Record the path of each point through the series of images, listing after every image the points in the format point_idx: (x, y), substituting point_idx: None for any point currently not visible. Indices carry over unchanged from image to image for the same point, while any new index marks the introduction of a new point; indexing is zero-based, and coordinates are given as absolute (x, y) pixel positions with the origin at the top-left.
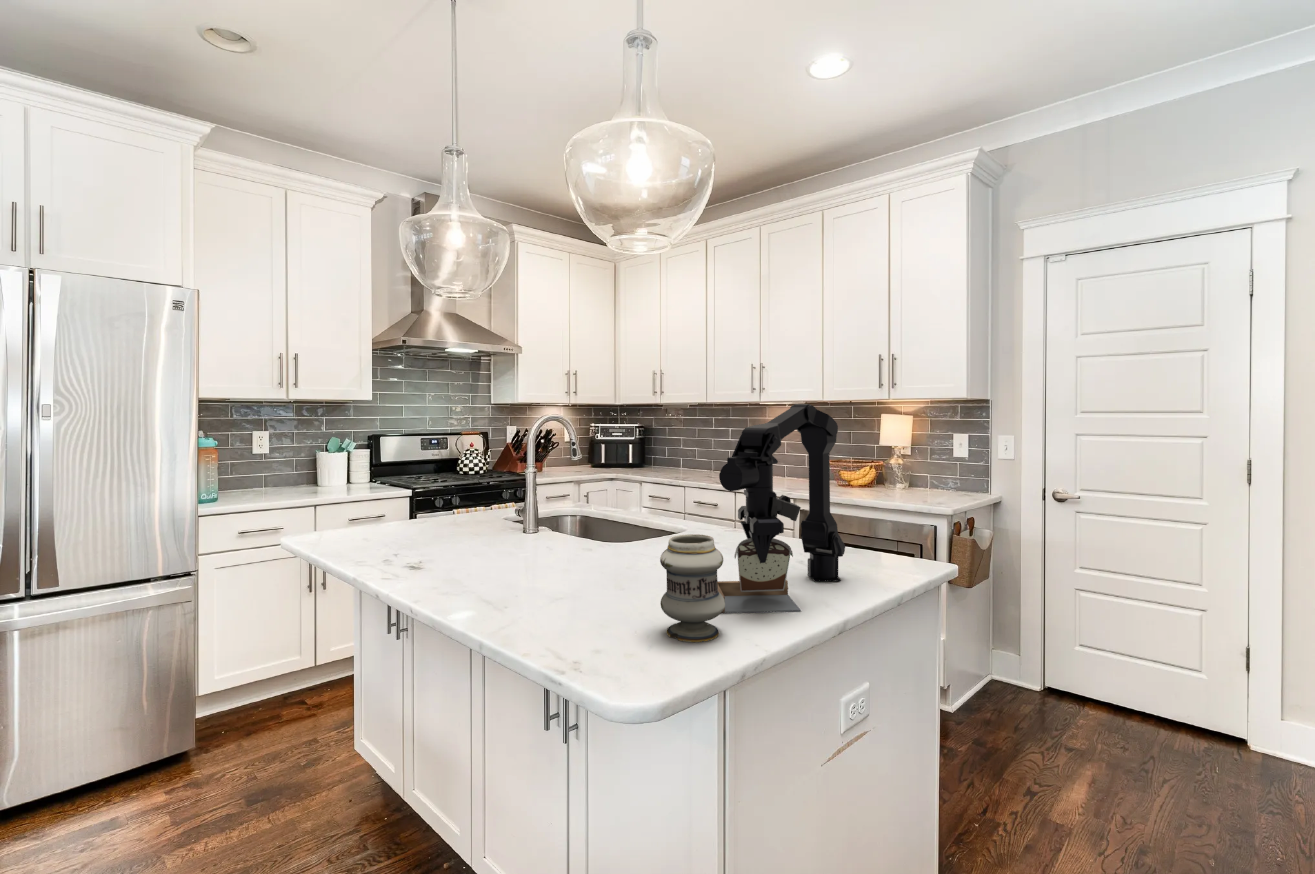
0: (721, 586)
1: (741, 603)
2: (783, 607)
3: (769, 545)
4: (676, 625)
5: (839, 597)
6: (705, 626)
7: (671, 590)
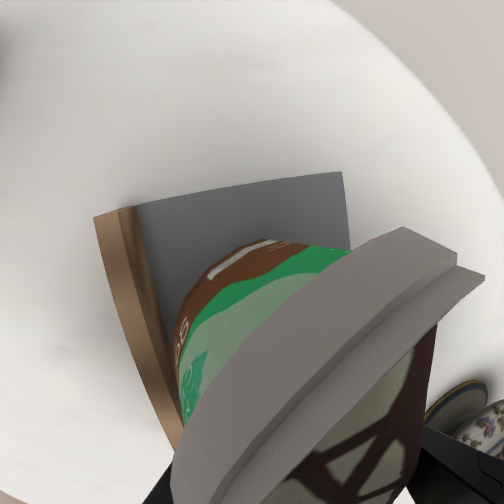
0: None
1: None
2: (317, 235)
3: (497, 459)
4: None
5: (141, 14)
6: (469, 409)
7: None
